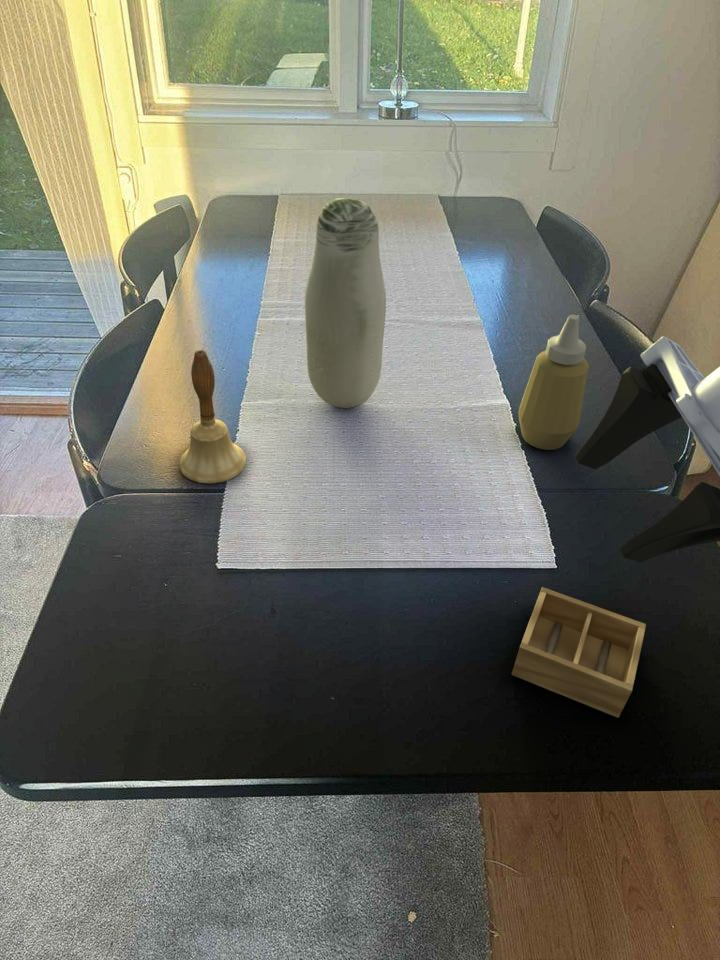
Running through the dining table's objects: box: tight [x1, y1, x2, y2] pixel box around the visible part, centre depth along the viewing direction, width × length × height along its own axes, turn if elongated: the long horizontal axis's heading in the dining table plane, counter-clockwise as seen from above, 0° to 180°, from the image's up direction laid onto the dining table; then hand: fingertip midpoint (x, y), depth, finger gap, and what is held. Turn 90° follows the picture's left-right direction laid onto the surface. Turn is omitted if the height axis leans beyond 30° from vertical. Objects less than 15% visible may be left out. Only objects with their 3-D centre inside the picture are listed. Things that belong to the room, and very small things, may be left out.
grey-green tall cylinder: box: [304, 197, 387, 409], centre depth 91 cm, size 10×10×28 cm
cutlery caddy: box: [511, 586, 647, 718], centre depth 66 cm, size 8×10×4 cm
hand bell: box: [179, 349, 247, 484], centre depth 83 cm, size 8×8×16 cm
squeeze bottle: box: [517, 314, 590, 451], centre depth 89 cm, size 8×8×18 cm
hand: (606, 507), depth 47 cm, fingers open, 7 cm apart
